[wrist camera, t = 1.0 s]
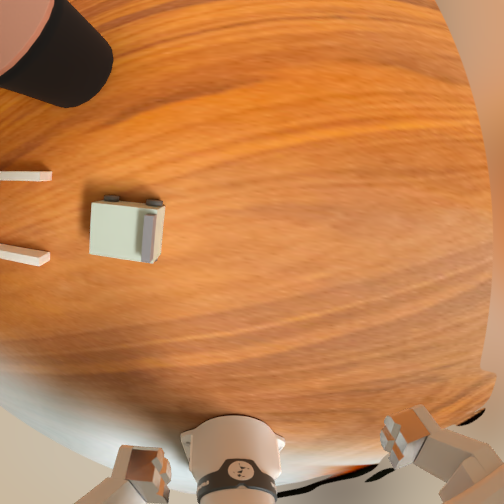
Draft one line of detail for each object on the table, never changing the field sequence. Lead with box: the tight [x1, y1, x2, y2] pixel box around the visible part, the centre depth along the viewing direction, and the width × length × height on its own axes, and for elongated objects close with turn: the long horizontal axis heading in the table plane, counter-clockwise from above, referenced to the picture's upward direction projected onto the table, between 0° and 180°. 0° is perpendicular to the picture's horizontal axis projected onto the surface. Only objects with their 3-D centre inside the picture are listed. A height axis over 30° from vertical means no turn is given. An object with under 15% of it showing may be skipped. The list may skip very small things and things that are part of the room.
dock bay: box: [0, 171, 52, 266], centre depth 31 cm, size 12×12×3 cm
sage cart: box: [90, 195, 165, 263], centre depth 32 cm, size 7×8×6 cm
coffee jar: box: [0, 0, 113, 108], centre depth 20 cm, size 11×11×18 cm
